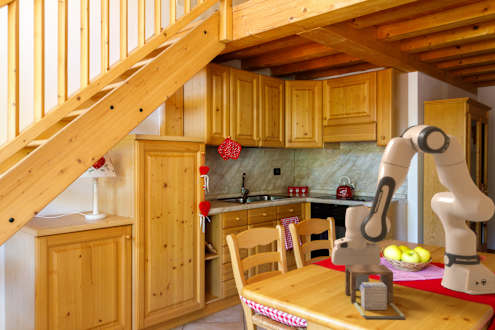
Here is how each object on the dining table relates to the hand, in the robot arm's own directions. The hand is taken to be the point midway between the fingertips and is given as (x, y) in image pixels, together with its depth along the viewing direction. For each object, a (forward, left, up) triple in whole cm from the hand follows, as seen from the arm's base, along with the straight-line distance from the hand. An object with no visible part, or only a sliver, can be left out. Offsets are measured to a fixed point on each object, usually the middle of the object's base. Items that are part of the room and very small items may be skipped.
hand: (355, 275), depth 161 cm
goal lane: (0, +29, -4) cm, 29 cm away
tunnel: (0, +18, -4) cm, 18 cm away
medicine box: (+1, +27, -4) cm, 27 cm away
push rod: (0, +16, -3) cm, 16 cm away
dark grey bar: (0, +36, -4) cm, 36 cm away
